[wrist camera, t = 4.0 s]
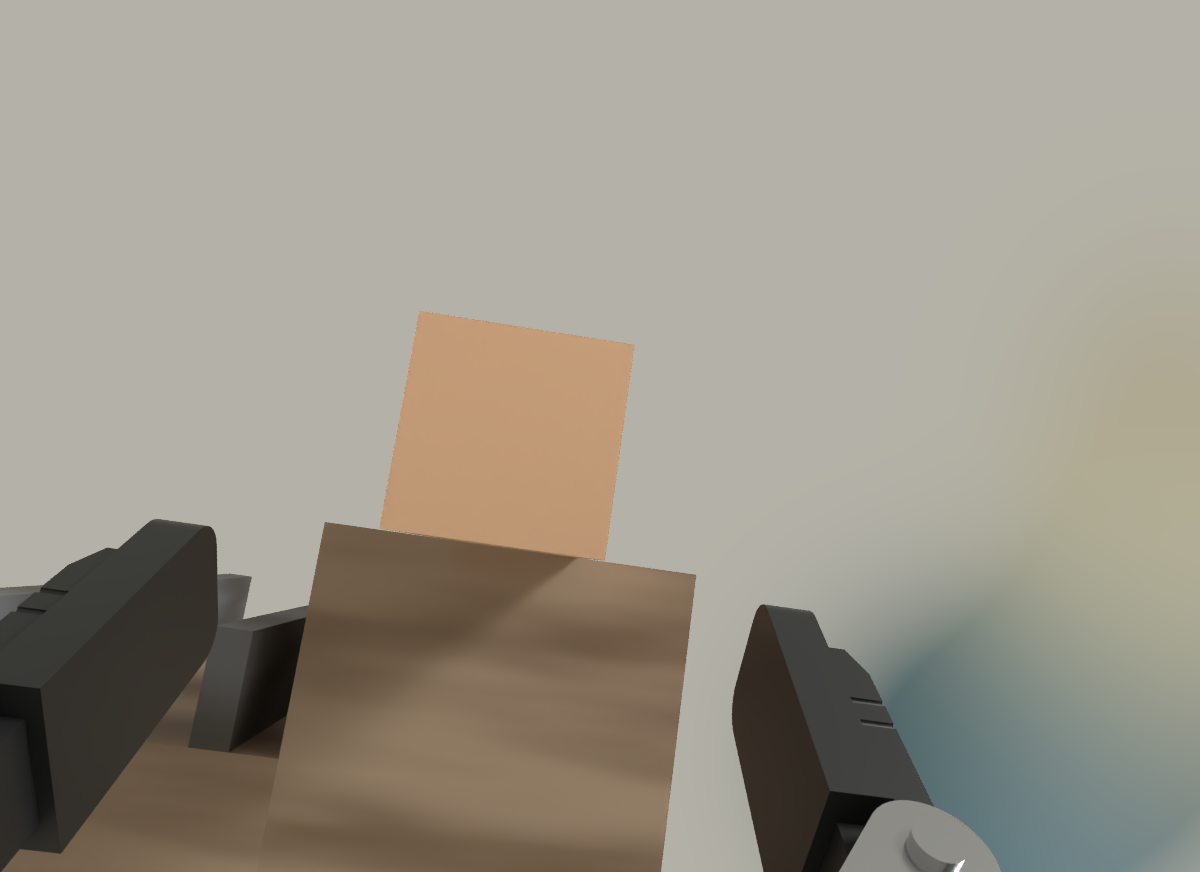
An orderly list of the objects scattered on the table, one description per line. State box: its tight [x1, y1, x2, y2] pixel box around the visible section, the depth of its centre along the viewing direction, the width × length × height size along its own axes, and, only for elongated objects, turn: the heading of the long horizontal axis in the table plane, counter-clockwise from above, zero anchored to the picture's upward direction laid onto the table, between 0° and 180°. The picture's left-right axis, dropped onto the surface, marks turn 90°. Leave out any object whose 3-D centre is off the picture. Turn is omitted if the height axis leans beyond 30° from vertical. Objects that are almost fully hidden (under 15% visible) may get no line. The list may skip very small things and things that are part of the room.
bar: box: [380, 311, 634, 560], centre depth 25 cm, size 26×4×4 cm, turn 4°
